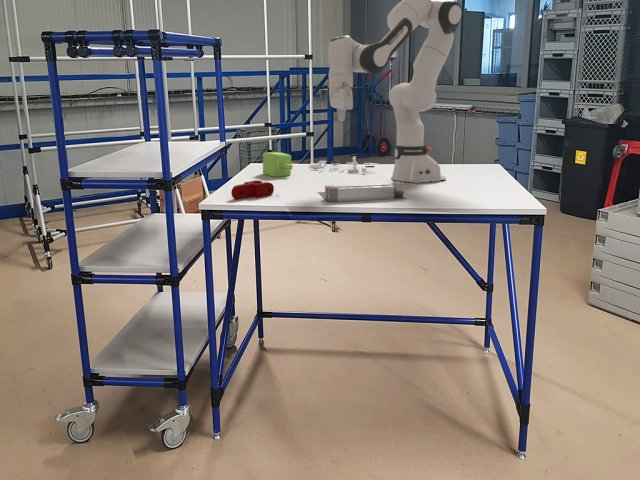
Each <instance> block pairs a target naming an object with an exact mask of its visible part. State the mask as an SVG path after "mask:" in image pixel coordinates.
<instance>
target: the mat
mask: <svg viewBox="0 0 640 480" xmlns="http://www.w3.org/2000/svg"><path fill="white" fill-rule="evenodd" d="M316 193H317V194H318V195H320V197H321V198H322V199H323V200H325V201H326V202H327V203H330V204H331V203H333V204H334V202H329V201H328V200H327V199H326V198H325V191H318V192H316ZM395 200H407V197H405V196H403V198H394V199H380V200H379V201H395ZM369 201H370V202H372V201H373V202H374V201H376V200H359V201H358V202H369ZM348 202H349V203H351V202H355V201H338V202H337V203H348Z"/></svg>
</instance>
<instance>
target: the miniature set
mask: <svg viewBox="0 0 640 480" xmlns="http://www.w3.org/2000/svg"><path fill="white" fill-rule="evenodd" d="M356 159H357V158H356V156H352V162H349V161H346V162H345V163H346V165H347V166H349V165H353V166H352V168H351V167H348V169H347V173H349V174H352V173H357V174H358V173H359V172H360V171H359V168H361V173H367V168H375V165H379V163H374V162H363V165H365V167H362V166H361V165H358V162H357V160H356ZM327 162H328V161H327V160H319V161H318V162H317V163H314V162H310V163H309V167H310V171H318V170H320V169H322V168H325V167H328V164H327ZM330 164H331V166H330V169H329V172H332V171H333V170H334V168H343V165H342V164H341V163H339V161H331V163H330ZM338 172H339V173H343V172H345V170H344V169H340V170H339V171H338Z"/></svg>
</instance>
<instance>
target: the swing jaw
mask: <svg viewBox="0 0 640 480" xmlns="http://www.w3.org/2000/svg"><path fill="white" fill-rule="evenodd" d="M370 186H391V184H390V183H371V184H369V183H368V184H346V185H345V184H343V185H324V192H325V198H326V199H327V196H328V187H337V188H346V187H370Z"/></svg>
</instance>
